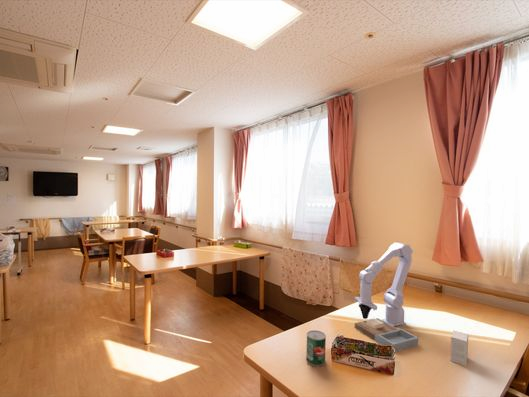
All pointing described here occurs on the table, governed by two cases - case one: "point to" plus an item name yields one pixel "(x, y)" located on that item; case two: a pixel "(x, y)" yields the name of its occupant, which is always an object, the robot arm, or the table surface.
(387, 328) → the board
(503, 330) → the table surface
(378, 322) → the tile
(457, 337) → the small box
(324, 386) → the table surface
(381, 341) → the box
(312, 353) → the canned tomato
